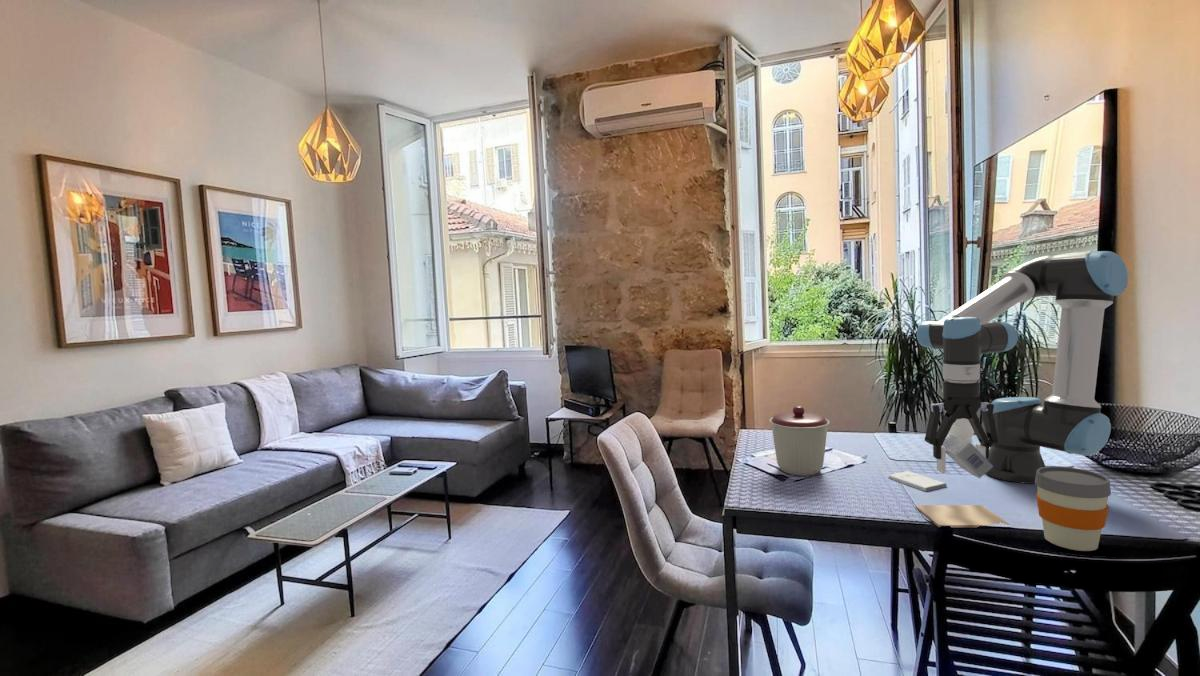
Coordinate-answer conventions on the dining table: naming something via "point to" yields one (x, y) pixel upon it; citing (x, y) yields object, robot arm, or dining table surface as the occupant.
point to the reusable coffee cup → (1072, 506)
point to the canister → (799, 441)
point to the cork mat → (960, 515)
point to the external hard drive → (917, 481)
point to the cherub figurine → (962, 429)
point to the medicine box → (966, 456)
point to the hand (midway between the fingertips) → (960, 471)
